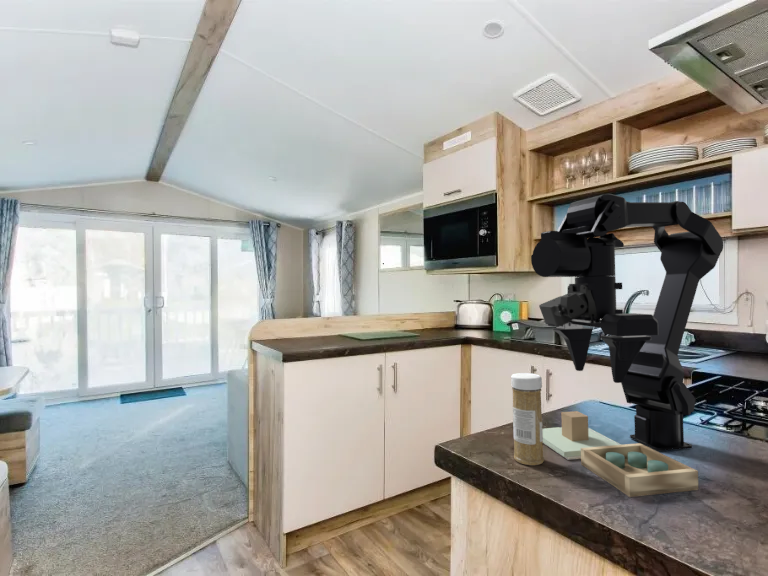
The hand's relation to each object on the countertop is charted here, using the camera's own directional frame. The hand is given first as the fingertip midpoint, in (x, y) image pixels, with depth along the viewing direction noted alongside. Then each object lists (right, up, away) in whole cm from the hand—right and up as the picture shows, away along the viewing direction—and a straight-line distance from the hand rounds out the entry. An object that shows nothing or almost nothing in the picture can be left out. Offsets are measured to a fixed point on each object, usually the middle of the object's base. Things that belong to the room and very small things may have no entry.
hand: (597, 376), depth 64 cm
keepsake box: (+2, -13, -6) cm, 14 cm away
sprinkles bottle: (-11, -14, 0) cm, 17 cm away
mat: (0, -13, +6) cm, 14 cm away
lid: (-1, -13, +6) cm, 14 cm away
